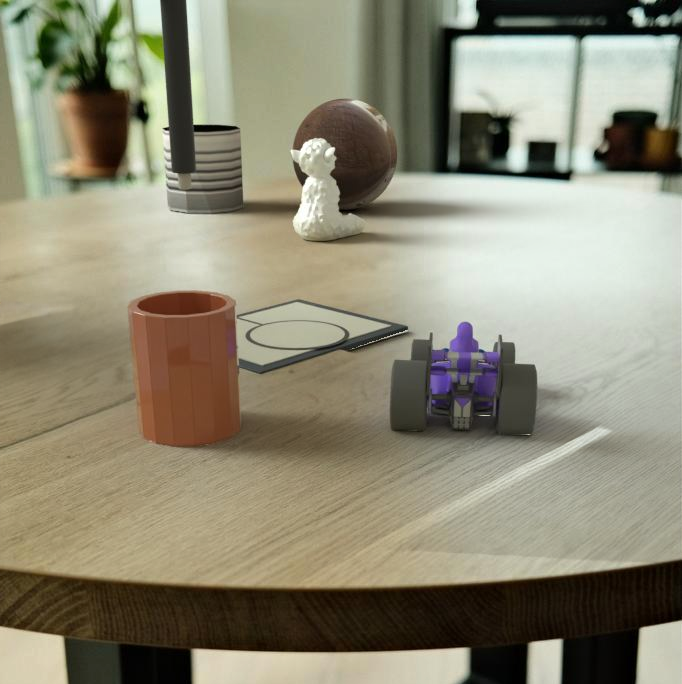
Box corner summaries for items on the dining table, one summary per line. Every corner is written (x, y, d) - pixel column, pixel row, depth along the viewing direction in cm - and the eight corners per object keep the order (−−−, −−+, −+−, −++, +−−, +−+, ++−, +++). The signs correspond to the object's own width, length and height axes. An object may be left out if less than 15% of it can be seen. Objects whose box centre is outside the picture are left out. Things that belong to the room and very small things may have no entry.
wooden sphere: (391, 219, 141) (394, 103, 135) (285, 217, 143) (282, 102, 136) (399, 201, 155) (402, 95, 148) (302, 199, 156) (300, 94, 150)
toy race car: (521, 375, 80) (528, 293, 77) (533, 447, 67) (542, 352, 64) (401, 371, 81) (403, 290, 78) (388, 441, 68) (390, 347, 65)
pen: (166, 188, 64) (148, -73, 57) (187, 186, 65) (171, -72, 58) (183, 191, 63) (165, -75, 56) (203, 188, 64) (188, -73, 57)
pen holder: (120, 434, 69) (106, 303, 65) (198, 409, 73) (189, 285, 70) (183, 461, 65) (173, 323, 61) (262, 433, 69) (257, 302, 65)
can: (152, 211, 147) (145, 122, 142) (189, 199, 157) (184, 115, 152) (223, 215, 144) (218, 125, 138) (257, 203, 153) (254, 118, 148)
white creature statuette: (366, 232, 133) (367, 134, 128) (350, 245, 126) (350, 142, 120) (296, 228, 135) (294, 132, 130) (277, 241, 128) (274, 140, 122)
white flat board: (150, 343, 88) (149, 335, 88) (298, 304, 100) (298, 297, 99) (260, 379, 79) (260, 370, 79) (408, 332, 91) (408, 324, 91)
